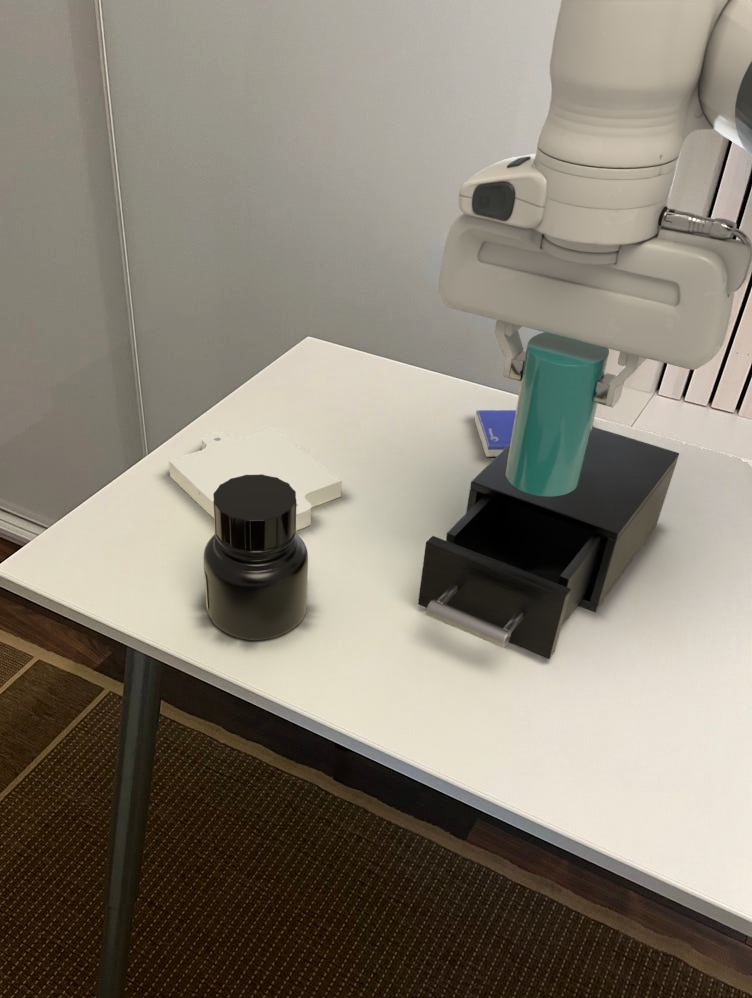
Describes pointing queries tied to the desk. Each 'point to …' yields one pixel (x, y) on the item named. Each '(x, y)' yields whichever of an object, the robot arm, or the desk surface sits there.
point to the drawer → (509, 574)
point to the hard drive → (495, 429)
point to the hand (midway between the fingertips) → (559, 389)
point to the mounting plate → (255, 469)
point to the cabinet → (599, 499)
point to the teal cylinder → (554, 414)
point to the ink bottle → (255, 559)
